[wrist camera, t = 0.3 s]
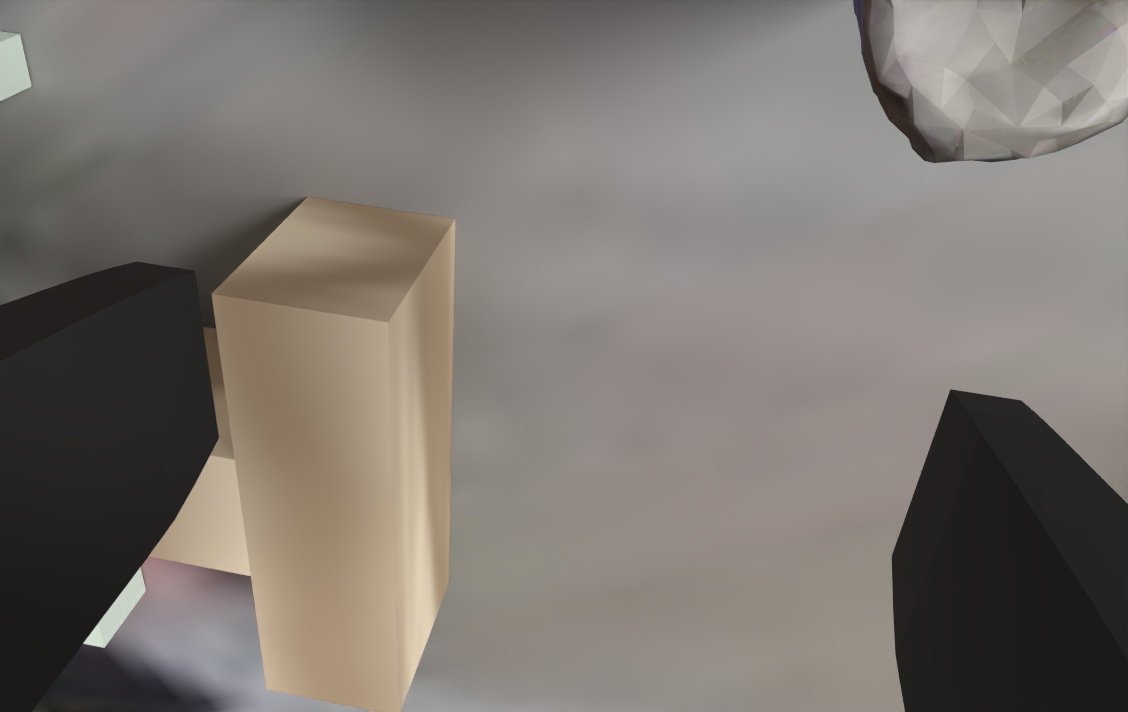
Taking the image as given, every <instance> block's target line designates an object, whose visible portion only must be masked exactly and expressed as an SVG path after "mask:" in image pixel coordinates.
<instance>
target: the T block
mask: <svg viewBox="0 0 1128 712" xmlns="http://www.w3.org/2000/svg"><path fill="white" fill-rule="evenodd" d="M454 261H455V219H452V218H445V217H439V216H432V215H425V214H419V213H412V212H405V211H399V210H392V209H385V208H379V207H372V206H365V205H358V204H352V203H345V202H338V201H332V200H325V199H318V198H312V197H307V198H306V199H305V200H304V201H303V202H302V203H301V204H300V205H299V206H298V207H297V208H296V209H295V210H294V211H293V212H292V213H291V214H290V215H289V216H288V217H287V218H286V219H285V220H284V221H283V222H282V223H281V224H280V225H279V226H278V227H277V228H276V229H275V230H274V231H273V232H272V233H271V234H270V235H269V236H268V237H267V238H266V239H265V240H264V241H263V242H262V243H261V244H260V245H259V246H258V247H257V248H256V249H255V250H254V252H253V253H252V254H251V255H250V256H249V257H248V258H247V259H246V260H245V261H244V262H243V263H242V264H241V265H240V266H239V267H238V268H237V269H236V270H235V271H234V272H233V273H232V274H231V275H230V276H229V277H228V278H227V279H226V280H225V281H224V282H223V283H222V284H221V285H220V286H219V287H218V288H217V289H216V290H215V291H214V292H213V293H212V302H213V309H214V316H215V323H216V329H215V328H209V327H203V331H204V338H205V345H206V352H207V358H208V365H209V372H210V379H211V386H212V392H213V399H214V406H215V413H216V419H217V426H218V433H219V439H218V441H217V443H216V445H215V447H214V449H213V451H212V453H211V455H210V457H209V458H208V460H207V462H206V464H205V466H204V468H203V470H202V472H201V474H200V476H199V478H198V480H197V482H196V484H195V485H194V487H193V489H192V491H191V492H190V494H189V496H188V498H187V499H186V501H185V503H184V505H183V506H182V508H181V510H180V512H179V513H178V515H177V517H176V519H175V520H174V522H173V523H172V524H171V526H170V527H169V529H168V530H167V531H166V533H165V534H164V536H163V537H162V538H161V540H160V541H159V543H158V544H157V545H156V547H155V548H154V549H153V551H152V552H151V553H150V555H149V557H154V558H159V559H165V560H170V561H175V562H180V563H185V564H190V565H196V566H201V567H206V568H211V569H216V570H221V571H227V572H232V573H237V574H242V575H247V576H251V581H252V588H253V595H254V602H255V609H256V616H257V623H258V631H259V638H260V645H261V652H262V659H263V666H264V674H265V681H266V688H267V690H272V691H277V692H282V693H287V694H292V695H297V696H301V697H306V698H311V699H316V700H321V701H326V702H331V703H335V704H340V705H345V706H350V707H355V708H360V709H364V710H369V711H374V712H400V711H401V709H402V706H403V703H404V701H405V698H406V695H407V693H408V690H409V687H410V685H411V682H412V680H413V677H414V674H415V672H416V669H417V666H418V664H419V661H420V658H421V656H422V653H423V650H424V648H425V645H426V642H427V640H428V637H429V634H430V632H431V629H432V627H433V624H434V621H435V619H436V616H437V613H438V611H439V608H440V605H441V603H442V600H443V597H444V595H445V592H446V589H447V587H448V584H449V556H450V497H451V438H452V379H453V320H454Z"/></svg>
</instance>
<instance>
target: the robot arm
mask: <svg viewBox="0 0 1128 712" xmlns="http://www.w3.org/2000/svg"><path fill="white" fill-rule="evenodd" d="M218 439H219V433H218V426H217V419H216V413H215V406H214V399H213V392H212V386H211V379H210V372H209V365H208V358H207V352H206V345H205V338H204V331H203V324H202V318H201V311H200V304H199V297H198V290H197V284H196V277H195V271H192V270H186V269H180V268H173V267H167V266H160V265H154V264H148V263H141V262H134V263H129V264H125V265H121V266H117V267H113V268H109V269H106V270H102V271H99V272H96V273H93V274H90V275H86V276H83V277H80V278H77V279H74V280H71V281H68V282H65V283H62V284H59V285H57V286H54V287H51V288H48V289H45V290H42V291H40V292H37V293H34V294H31V295H28V296H26V297H23V298H20V299H17V300H15V301H12V302H9V303H6V304H4V305H1V306H0V712H32V711H33V710H34V708H35V707H36V705H37V704H38V703H39V701H40V700H41V699H42V697H43V696H44V695H45V693H46V692H47V691H48V689H49V688H50V687H51V685H52V684H53V683H54V681H55V680H56V679H57V677H58V676H59V675H60V673H61V672H62V671H63V669H64V668H65V667H66V665H67V664H68V663H69V661H70V660H71V659H72V658H73V656H74V655H75V654H76V652H77V651H78V650H79V648H80V647H81V646H82V644H83V643H84V642H85V640H86V639H87V638H88V636H89V635H90V634H91V632H92V631H93V630H94V628H95V627H96V626H97V624H98V623H99V622H100V620H101V619H102V618H103V616H104V615H105V614H106V612H107V611H108V610H109V608H110V607H111V606H112V604H113V603H114V602H115V601H116V599H117V598H118V597H119V595H120V594H121V593H122V591H123V590H124V589H125V587H126V586H127V585H128V583H129V582H130V581H131V579H132V578H133V576H134V575H135V574H136V572H137V571H138V570H139V568H140V567H141V566H142V564H143V563H144V562H145V560H146V559H147V558H148V556H149V555H150V553H151V552H152V551H153V549H154V548H155V547H156V545H157V544H158V543H159V541H160V540H161V538H162V537H163V536H164V534H165V533H166V531H167V530H168V529H169V527H170V526H171V524H172V523H173V522H174V520H175V519H176V517H177V515H178V513H179V512H180V510H181V508H182V506H183V505H184V503H185V501H186V499H187V498H188V496H189V494H190V492H191V491H192V489H193V487H194V485H195V484H196V482H197V480H198V478H199V476H200V474H201V472H202V470H203V468H204V466H205V464H206V462H207V460H208V458H209V457H210V455H211V453H212V451H213V449H214V447H215V445H216V443H217V441H218ZM892 580H893V614H894V633H895V652H896V660H897V666H898V672H899V678H900V684H901V690H902V696H903V702H904V708H905V712H1128V504H1127V503H1126V502H1125V501H1124V500H1123V499H1122V498H1121V497H1120V496H1119V495H1118V494H1117V493H1116V492H1115V491H1114V490H1113V489H1112V488H1111V487H1110V486H1109V485H1108V484H1107V483H1106V482H1105V481H1104V480H1103V479H1102V478H1101V477H1100V476H1099V475H1098V474H1097V473H1096V472H1095V471H1094V470H1093V469H1092V468H1091V467H1090V466H1089V465H1088V464H1087V463H1086V462H1085V461H1084V460H1083V459H1082V458H1081V457H1080V456H1079V455H1078V454H1077V453H1076V452H1075V451H1074V450H1073V449H1072V448H1071V447H1070V446H1069V445H1068V444H1067V443H1066V442H1065V441H1064V440H1063V439H1062V438H1061V437H1060V436H1059V435H1058V434H1057V433H1056V432H1055V431H1054V430H1053V429H1052V428H1051V427H1050V426H1049V425H1048V424H1047V423H1046V422H1045V421H1044V420H1042V419H1041V418H1040V417H1039V416H1038V415H1037V414H1036V413H1035V412H1034V411H1033V410H1031V409H1030V408H1029V407H1028V406H1027V405H1026V404H1025V403H1023V402H1022V401H1021V400H1014V399H1008V398H1002V397H995V396H989V395H982V394H976V393H970V392H963V391H957V390H950V392H949V395H948V398H947V401H946V404H945V407H944V409H943V412H942V415H941V418H940V421H939V424H938V427H937V429H936V432H935V435H934V438H933V441H932V444H931V446H930V449H929V452H928V455H927V458H926V461H925V463H924V466H923V469H922V472H921V475H920V478H919V480H918V483H917V486H916V489H915V492H914V495H913V498H912V500H911V503H910V506H909V509H908V512H907V515H906V517H905V520H904V523H903V526H902V529H901V532H900V534H899V537H898V540H897V543H896V546H895V549H894V551H893V554H892Z"/></svg>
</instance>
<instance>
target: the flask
mask: <svg viewBox="0 0 1128 712" xmlns="http://www.w3.org/2000/svg"><path fill="white" fill-rule="evenodd" d="M853 3H854V12H855V14H856V17H857V21H858V26H859V31H860V36H861V48H862V56H863V60H864V63H865V67H866V70H867V73H868V76H869V79H870V82H871V86H872V89H873V92H874V93H875V94H876V95H877V97H878V99H879V102H880V104H881V106H882V108H883V110H884V111H885V113H886V115H887V117H888V119H889V120H890V121H891V122H892V123H893V124H894V125H895V126H896V127H897V128H898V129H899V130H900V131H901V132H902V133H903V134H905V135H906V136H907V137H908V138H909V141H910V143H911V146H912V149H913V150H914V151H915V152H916V153H917V154H918V155H919V156H920V157H921V158H922V159H923V160H924V161H928V162H933V163H939V162H951V161H969V160H974V161H984V162H999V161H1008V160H1017V159H1019V158H1032V157H1036V156H1041V155H1045V154H1049V153H1053V152H1057V151H1060V150H1062V149H1065V148H1067V147H1070V146H1072V145H1075V144H1077V143H1080V142H1082V141H1084V140H1086V139H1088V138H1090V137H1093V136H1095V135H1097V134H1099V133H1101V132H1103V131H1105V130H1107V129H1109V128H1111V127H1114V126H1116V125H1118V124H1120V123H1122V122H1123V121H1124V120H1125V119H1126V117H1127V116H1128V0H853Z"/></svg>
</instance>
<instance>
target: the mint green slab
mask: <svg viewBox="0 0 1128 712" xmlns="http://www.w3.org/2000/svg"><path fill="white" fill-rule="evenodd" d="M29 87H31V81H30V77H29V72H28V68H27V64H26V59H25V55H24V50H23V46H22V41H21V37H20V34H15V33H8V32H1V31H0V101H2V100H4V99H6V98H8V97H10V96H12V95H15V94H17V93H19V92H21V91H23V90H25V89H27V88H29ZM145 591H146V589H145V585H144V581H143V576H142V572H141V567H140V568H139V570H138V571H137V572H136V574H135V575H134V576H133V578H132V579H131V581H130V582H129V583H128V585H127V586H126V587H125V589H124V590H123V591H122V593H121V594H120V595H119V597H118V598H117V599H116V601H115V602H114V603H113V604H112V606H111V607H110V608H109V610H108V611H107V612H106V614H105V615H104V616H103V618H102V619H101V620H100V622H99V623H98V624H97V626H96V627H95V628H94V630H93V631H92V632H91V634H90V635H89V636H88V638H87V639H86V640H85V642H84V644H89V645H93V646H98V647H103V648H105V646H106V645H107V643H108V642H109V641H110V639H111V638H112V637H113V635H114V634H115V632H116V631H117V630H118V628H119V627H120V626H121V624H122V623H123V621H124V620H125V619H126V617H127V616H128V615H129V613H130V612H131V610H132V609H133V608H134V606H135V605H136V604H137V602H138V601H139V599H140V598H141V597H142V595H143V594H144V593H145Z"/></svg>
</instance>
